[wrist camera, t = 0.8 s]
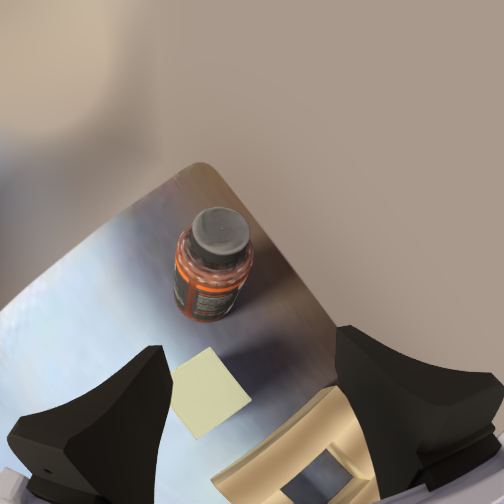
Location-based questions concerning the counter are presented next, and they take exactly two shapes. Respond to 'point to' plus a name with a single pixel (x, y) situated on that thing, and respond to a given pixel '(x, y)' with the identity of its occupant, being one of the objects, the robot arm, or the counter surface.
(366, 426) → the robot arm
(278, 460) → the well block
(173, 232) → the counter surface
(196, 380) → the peg
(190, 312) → the supplement bottle
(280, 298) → the counter surface
